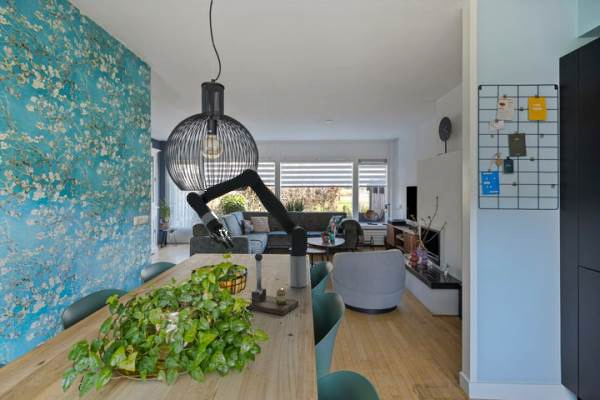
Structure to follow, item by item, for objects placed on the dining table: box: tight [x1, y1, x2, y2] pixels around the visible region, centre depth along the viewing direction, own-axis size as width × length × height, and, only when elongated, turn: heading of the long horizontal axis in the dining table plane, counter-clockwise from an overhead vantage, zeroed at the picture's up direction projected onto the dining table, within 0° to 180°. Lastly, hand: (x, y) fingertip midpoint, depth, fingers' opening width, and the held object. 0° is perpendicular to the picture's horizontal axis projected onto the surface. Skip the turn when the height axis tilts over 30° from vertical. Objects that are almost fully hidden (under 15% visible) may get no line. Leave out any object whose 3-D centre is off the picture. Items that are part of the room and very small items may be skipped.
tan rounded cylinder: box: [275, 287, 287, 305], centre depth 140 cm, size 4×4×7 cm
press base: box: [246, 287, 299, 316], centre depth 142 cm, size 14×22×6 cm, turn 63°
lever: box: [254, 252, 264, 295], centre depth 145 cm, size 4×4×20 cm
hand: (230, 247), depth 155 cm, fingers open, 3 cm apart
